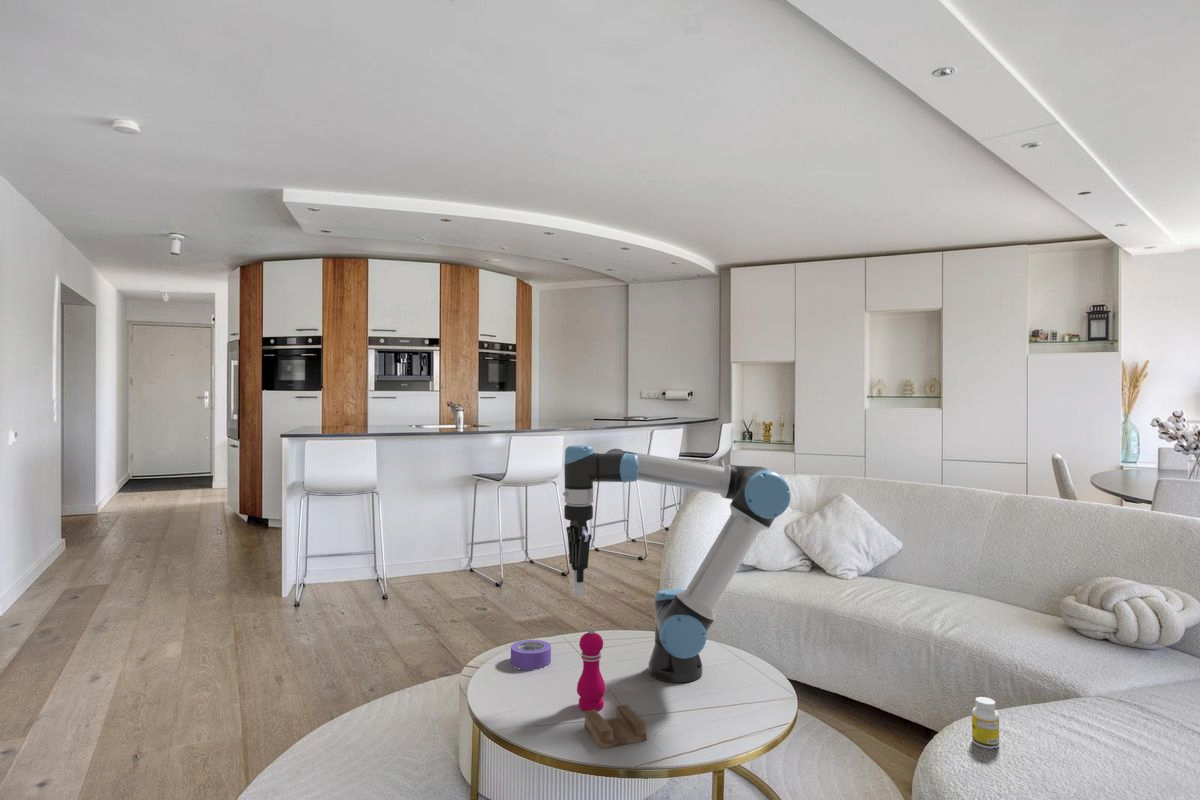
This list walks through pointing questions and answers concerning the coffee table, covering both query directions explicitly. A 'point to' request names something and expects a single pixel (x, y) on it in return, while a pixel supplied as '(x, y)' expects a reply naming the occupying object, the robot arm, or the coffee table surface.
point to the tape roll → (530, 654)
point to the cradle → (615, 727)
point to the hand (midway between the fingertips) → (578, 593)
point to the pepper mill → (591, 672)
